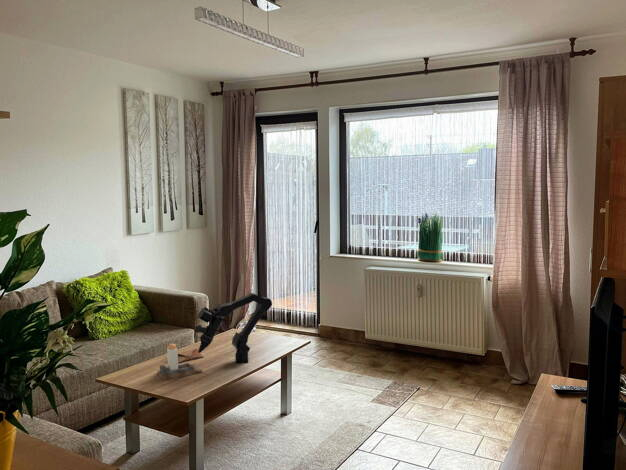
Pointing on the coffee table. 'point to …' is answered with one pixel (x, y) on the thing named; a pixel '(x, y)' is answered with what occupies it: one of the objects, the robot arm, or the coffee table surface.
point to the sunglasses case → (189, 356)
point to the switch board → (179, 371)
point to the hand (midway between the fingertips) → (198, 352)
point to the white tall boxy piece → (172, 357)
